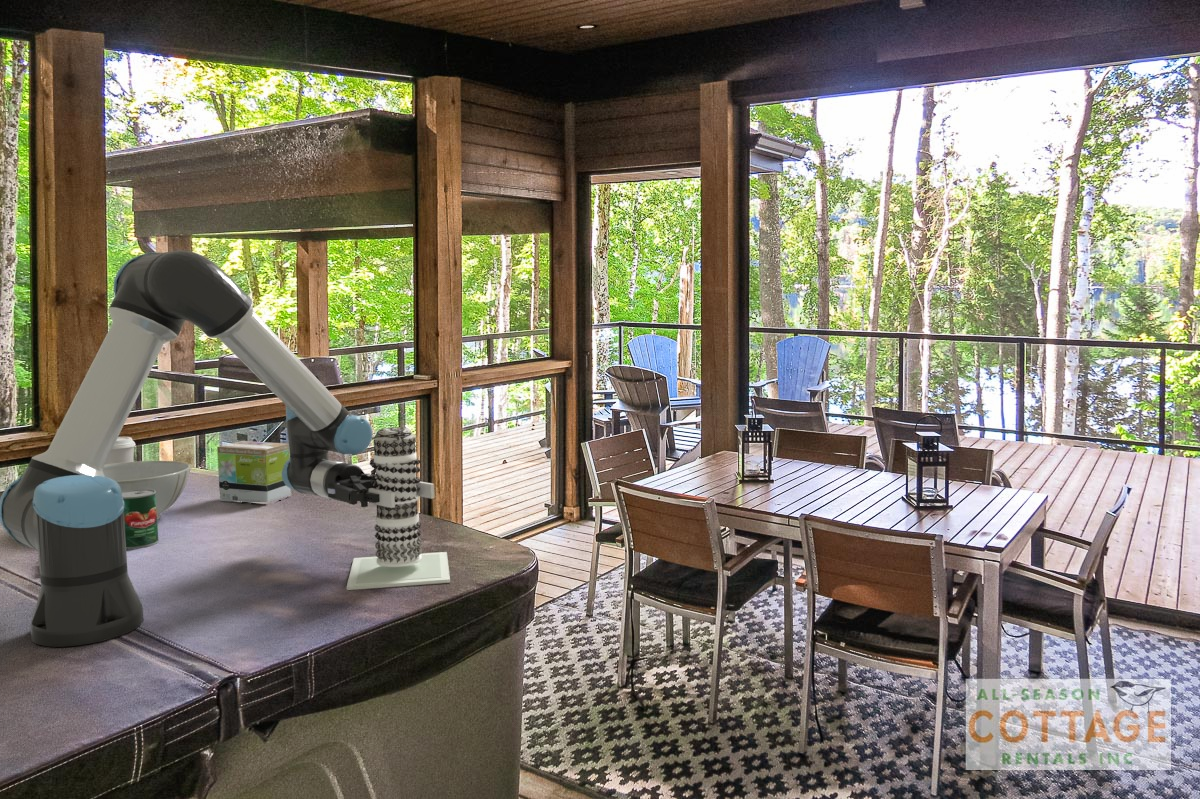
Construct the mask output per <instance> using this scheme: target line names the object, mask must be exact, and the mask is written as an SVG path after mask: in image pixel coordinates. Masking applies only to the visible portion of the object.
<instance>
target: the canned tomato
mask: <svg viewBox="0 0 1200 799" xmlns="http://www.w3.org/2000/svg"><path fill="white" fill-rule="evenodd" d="M122 497H123V500H124V522H125V538H126V550H134V548H136V549H142V548H147V547H151V546H154V545H156V544H159V529H158V525H159V524H158V520H157V509H156V508H157V507H156V491H155V490H151V489H138V490H129V491H123V492H122Z"/></svg>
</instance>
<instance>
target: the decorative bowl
mask: <svg viewBox="0 0 1200 799" xmlns="http://www.w3.org/2000/svg"><path fill="white" fill-rule="evenodd" d="M190 473H191V465H190V464H189V463H187V462H182V461H176V460H175V461H174V460H139V461H138V460H137V461H133V462H122V463H113V464H105V465H104V467H103V474H104V476H105V477H107V478H110V479H112V480H114V481H116V482H117V483H118V484H119V486H120V488H121V492H123V491H129V490H138V489H151V490H155V491H156V507H157V508H156V509H157V521H158V520H160V518H161V514H163V512H165V511H167V510H168V509H169V508H171V506H172V505H174V504H175V502H176V501H177V500H178V499H179V497H180V496H181V495H182V492H183V491H184V489H185V487H186V485H187V482H188V480H189V477H190Z"/></svg>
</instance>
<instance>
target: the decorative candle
mask: <svg viewBox="0 0 1200 799" xmlns="http://www.w3.org/2000/svg"><path fill="white" fill-rule="evenodd" d="M416 438H417V435H415V434H413V432H412V431H411V430H410V429H409V428H408V427H405V426H404V427H403V426H398V427H397V426H396V427H395V426H393V427H392V426H391V427H384V428H380V429H378V431H377V432H376V434H375V435H374V436H372V441H373V451H374V453H373V458H371V459H370V462H369V466H370V467H371V468H373V469H371V471H370V475H371V476H372V477H373V479H372V482H371V483H372V484H373V486H374V487H376V488H375V489H379V490H385V491H390V492H394V494H395V507H394V508H389V507H385V506H380V505H376V517H375V521H376V524H375V525H374V530H375V531H376V533H375V535H374V537H375V538H376V540H377V541H376V542H375V544H374V547H375V549H376V551H375V557H378V558H377V564H378V565H380V566H385V567H402V566H408V565H413V564H416V563H418V562H420V561H421V560H422V556H421V555H420V554H423V549H422V547H421V546H422V542H423V541H422V539H421V538H420V536H421V534H422V530H420V528H421V527H422V522H420V517H419V516H420V513H419V510H418V507H419V506H418V500H420V498H421V497H420V496H419V495H418V494H416V493H417V492H418V491H419V490H420V489H421V488H420V487H419V486H416V483H419V482H420V481H421V478H420V477H419V478H420V479H419V478H416V477H417V474H418V473H420V472H421V470H422V469H421V468H420V467H418V465H419V464H421V462H422V461H421V460H420V459H419V458H418V457H417V456H418V455H417V451H416Z"/></svg>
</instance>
